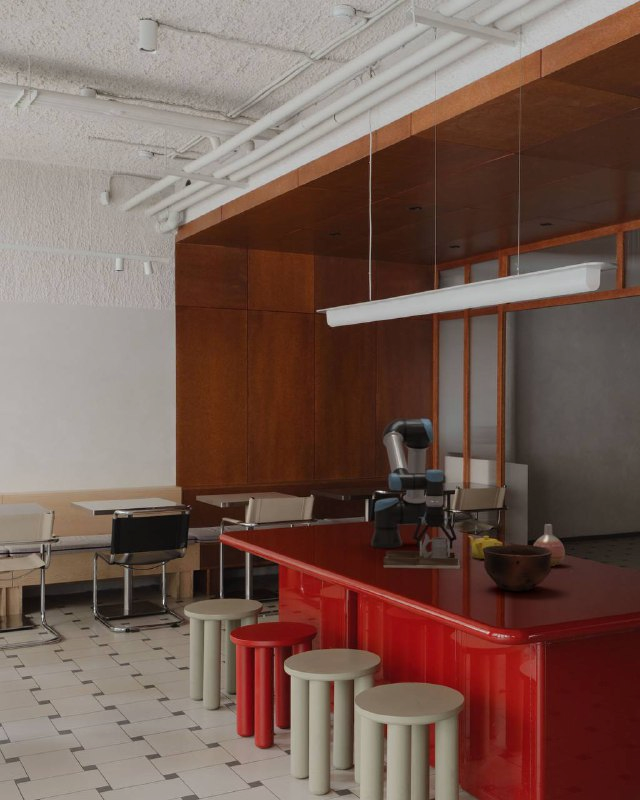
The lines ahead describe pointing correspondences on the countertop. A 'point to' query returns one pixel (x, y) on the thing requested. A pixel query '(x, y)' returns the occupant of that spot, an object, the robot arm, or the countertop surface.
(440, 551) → the mug
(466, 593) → the countertop surface
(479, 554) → the teapot
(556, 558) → the vase
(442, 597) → the countertop surface
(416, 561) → the rimmed tray
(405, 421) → the robot arm
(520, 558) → the bowl
